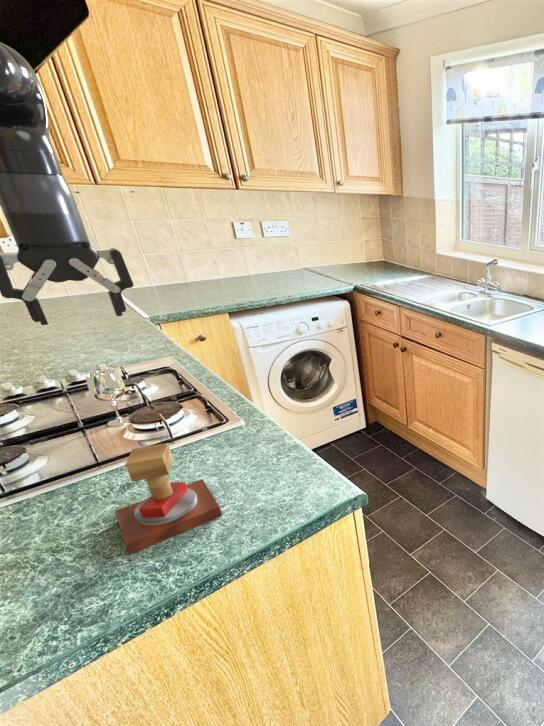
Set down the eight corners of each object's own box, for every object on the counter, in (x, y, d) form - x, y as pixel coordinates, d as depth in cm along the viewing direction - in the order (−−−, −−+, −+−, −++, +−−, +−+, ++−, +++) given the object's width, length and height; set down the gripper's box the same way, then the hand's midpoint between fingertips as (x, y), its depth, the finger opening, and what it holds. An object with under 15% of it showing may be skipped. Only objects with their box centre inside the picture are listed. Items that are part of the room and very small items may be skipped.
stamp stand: (129, 554, 62) (125, 545, 61) (118, 519, 68) (114, 510, 67) (222, 515, 70) (219, 506, 69) (205, 487, 76) (202, 478, 75)
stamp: (180, 524, 65) (160, 467, 61) (123, 527, 64) (98, 469, 60) (207, 491, 73) (190, 438, 68) (155, 493, 71) (135, 439, 67)
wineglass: (126, 427, 92) (107, 378, 87) (96, 428, 91) (75, 378, 86) (142, 414, 97) (125, 367, 92) (114, 415, 96) (95, 367, 91)
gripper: (-40, 210, 52) (17, 333, 59) (112, 211, 62) (146, 317, 69) (-36, 206, 57) (16, 321, 64) (104, 207, 66) (137, 307, 73)
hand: (83, 319), depth 66 cm, fingers open, 8 cm apart
